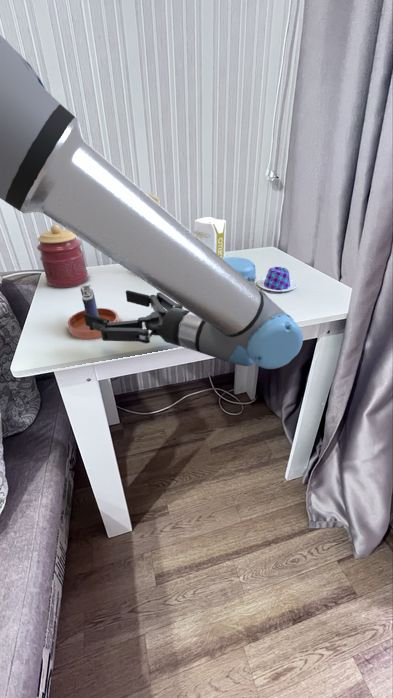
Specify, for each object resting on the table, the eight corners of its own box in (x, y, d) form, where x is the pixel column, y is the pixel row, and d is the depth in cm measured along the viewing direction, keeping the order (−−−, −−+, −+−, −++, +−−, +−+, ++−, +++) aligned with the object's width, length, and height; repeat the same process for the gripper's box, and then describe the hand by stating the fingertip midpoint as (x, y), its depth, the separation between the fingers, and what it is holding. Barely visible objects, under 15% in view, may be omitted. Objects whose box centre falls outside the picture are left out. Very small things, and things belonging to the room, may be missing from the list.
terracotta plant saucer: (95, 344, 74) (93, 336, 73) (59, 331, 79) (57, 323, 78) (128, 321, 83) (127, 314, 82) (94, 311, 88) (93, 304, 87)
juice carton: (208, 275, 109) (208, 215, 98) (227, 282, 103) (229, 219, 93) (191, 281, 104) (190, 219, 94) (211, 289, 99) (211, 224, 88)
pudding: (304, 288, 98) (307, 271, 96) (274, 297, 94) (276, 279, 91) (278, 275, 107) (280, 260, 104) (249, 283, 102) (250, 267, 100)
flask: (87, 317, 84) (78, 278, 78) (98, 315, 85) (90, 277, 79) (90, 335, 77) (80, 293, 71) (103, 332, 78) (94, 291, 72)
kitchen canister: (54, 274, 111) (39, 220, 102) (92, 272, 112) (81, 219, 102) (41, 289, 101) (24, 231, 91) (83, 287, 101) (70, 229, 91)
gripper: (151, 377, 59) (70, 346, 68) (213, 319, 77) (143, 300, 86) (147, 342, 55) (61, 314, 64) (214, 290, 73) (139, 273, 81)
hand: (107, 306), depth 75 cm, fingers open, 13 cm apart
